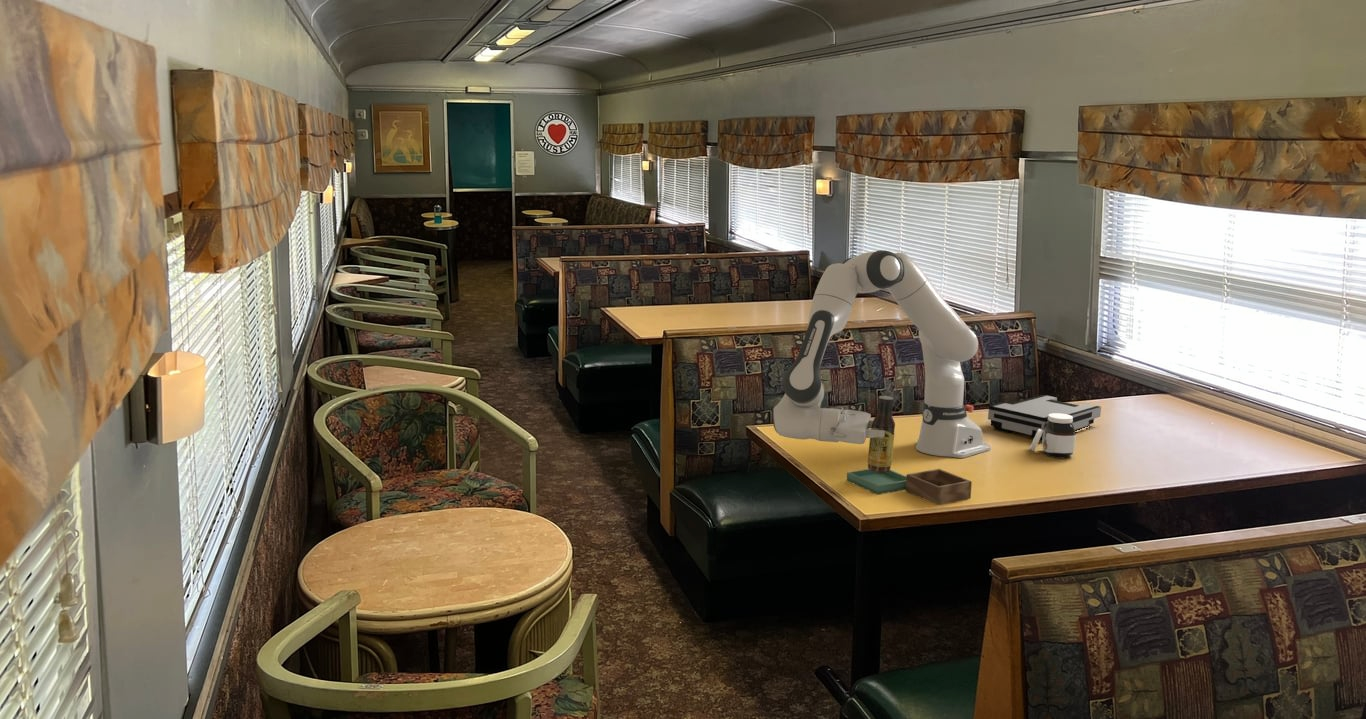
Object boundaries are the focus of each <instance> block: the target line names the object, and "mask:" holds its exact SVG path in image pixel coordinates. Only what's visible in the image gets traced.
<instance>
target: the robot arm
mask: <svg viewBox="0 0 1366 719" xmlns="http://www.w3.org/2000/svg"><path fill="white" fill-rule="evenodd" d="M885 289H887V290H888V292H889V293H890V295H891V296H892V297H893V299H894V301H895V302H896V303H897V304H898V306H899V308H900V309H901V310H902V311H903V313H904V315H906V317H907V318H908V320H909V321H910V322H911V323H912V324H913V325H914V326H915V327H917V329H918V338H919V341H920V343H921V347H922V348H921V349H922V357H923V364H924V365H923V366H924V372H925V377H924V378H925V380H924V382H925V383H924V385H925V386H924V401H923V402H922V408H921V409H922V410H921V414H922V420H921V424H920V431H919V435H918V439H917V443H916V446H915V448H916V450H917V451H919V452H920V453H924V454H927V455H930V456H931V455H932V456H938V457H950V458H952V457H953V458H959V459H964V458H968V457H970V456H974V455H978V454H981V453H985V452H988V451H991V446H990V444H988V443H986V442H985V441H984V435H983V430H982V428H981V427H980V426H979V425H977V424H976V422H975V421H973V420H971V418H969V417H968V415H967V412H969V413H973V412H974V409H975V407H974V406H973V405H970V404H966V405H965V404H964V392H965V377H964V373H963V370H962V366H961V365H962V364H961V363H963V362H966V361H970V360H971V359H973V357H974V356H975V355H976V353H977V351H978V348H979V339H978V336H977V335H976V334H975V333H974V331H973V330H972V329H970V327H969V325H967V324H966V322H965V321H964V320H963V319H962V318H961V316H959V314H958V313H957V312H956V311H955V310H954V308H952V306H950V305H949V304H948V302H947V301H946V300H945V299H944V298H943V296H942V295H941V294H940V293H939V291H938V290H937V289H936V287H935V286H934V285H933V283H932V282H931V281H930V279H929V277H928V276H927V275H926V273H925V272H924V271H923V270H922V268H921V267H920V266H919V265H918V264H917V263H916V261H914V260H913V259H912V258H911V257H910V256H909V255H907V254H906V253H904V252H895V253H894V252H892V251H890V250H885V249H884V250H883V249H881V250H876V251H867V252H864V253H861V254H859V255H856V256H854V257H852V256H851V257H848V258H847V259H845V260H844V261H843V262H840V263H838V262H837V263H832V264H830V265H829V266H827V267H826V269H825V270H824V272H823V274H822V275H821V278H820V279H819V281H818V284H817V286H816V289H815V291H814V294H813V298H812V301H811V305H810V310H809V315H808V323H807V328H806V332H805V335H804V337H803V341H802V343H801V346H800V349H799V352H798V354H797V357H796V359H795V360H794V361H793V363H791V365H790V366H789V367H788V369H787V370H786V371H785V373H784V374H783V377H782V382H781V383H782V389H783V391H784V395H783V397H782V398H781V400H780V401H779V402H778V403H777V404H776V405H775V406H774V407H773V409H772V424H773V428H774V430H775V432H776V434H778V435H779V436H780V437H781V436H782V437H784V438H789V439H795V440H803V441H804V440H808V439H809V440H816V441H818V442H825V443H826V442H828V443H838V442H841V443H848V444H855V445H863V444H865V443H866V439H870V438H875V437H884V436H885V430H883V429H878V430H871V427H872V423H873V420H874V419H871V418H872V417H871V416H872V415H871V413H868V412H866V411H860V410H855V409H854V410H853V409H844V407H842V406H835V407H833V408H827V407H821V406H822V403H823V400H824V396H825V388H824V386H823V385H824V384H823V382H822V378H821V368H820V367H821V364H822V362H823V357H824V356H825V355H824V354H825V351H826V349H827V346H828V342H829V341H830V339H831V337H832V336H834V335H836V334H839V333H840V332H841V331H843V330H844V328H845V327H846V325H847V323H848V321H849V319H850V317H851V313H852V311H853V308H854V307H853V306H854V304H855V300H856V297H857V295H859V294H869V293H874V292H877V291H880V290H885Z"/></svg>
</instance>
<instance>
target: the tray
mask: <svg viewBox="0 0 1366 719" xmlns="http://www.w3.org/2000/svg"><path fill="white" fill-rule="evenodd" d="M906 477H907V475H905V474H902V473H899V472H897V471H895V470H892V469H890V470H889V471H888V472H883V473H882V472H874V471H871V470H870V469H868V468H866V469H865V468H864V469H860V470H859V469H858V470H853V471H848V472H846V482H848V483H849V482H850V483H851V484H853V483H854V484H853V485H856V486H858V487H860V488H863V489H865V490H867V491H869V492H871V493H874V494H875V493H876V495H883V493H884V494H888V492H889V493H894V492H893V491H895V492H899V490H900V491H904V490H905V491H906Z"/></svg>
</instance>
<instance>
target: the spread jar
mask: <svg viewBox="0 0 1366 719" xmlns="http://www.w3.org/2000/svg"><path fill="white" fill-rule="evenodd" d="M1072 422H1073V417H1072V416H1071V415H1067V414H1061V413H1052V414H1049V415H1048V421H1047V422H1046V423H1045V425H1044V428H1043V430H1041V429H1038V431H1037V433H1036V435H1035V437H1034V438H1032V441H1031V443H1030V446H1029V451H1032V452H1034V451H1035V450H1036V448H1037V447H1038V444H1039V442H1040V441H1041V447H1042V451H1043V453H1044V455H1046V456H1048V455H1049V457H1051V456H1054V457H1053V458H1057V457H1066V458H1069V457H1070V456H1073V454H1074V453H1075V452H1074V451H1075V447H1076V446H1075V445H1076V433H1075V429H1074V426H1073V424H1072ZM1042 433H1043V437H1042V440H1040V438H1041V435H1042ZM1068 456H1069V457H1068Z"/></svg>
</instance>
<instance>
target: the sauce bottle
mask: <svg viewBox="0 0 1366 719" xmlns="http://www.w3.org/2000/svg"><path fill="white" fill-rule="evenodd" d="M894 401H895V399H894V398H893V397H892V396H889V395H879V396H878V398H877V410H876V412H877V413H876V415H875V417H874V418H873V419H872V420H873V423H872V427H871V428H870V429H871V430H878V429H883V430H885V436H884V437H875V438H869V447H868V455H867V469H870V470H871V471H874V472H882V473H883V472H888V471H889V470H891V466H892V465H893V464H892V463H893V462H892V461H893V453H894V445H895V444H894V443H895V428H896V423H895V420H894V418H893V404H894V403H895V402H894Z"/></svg>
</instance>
